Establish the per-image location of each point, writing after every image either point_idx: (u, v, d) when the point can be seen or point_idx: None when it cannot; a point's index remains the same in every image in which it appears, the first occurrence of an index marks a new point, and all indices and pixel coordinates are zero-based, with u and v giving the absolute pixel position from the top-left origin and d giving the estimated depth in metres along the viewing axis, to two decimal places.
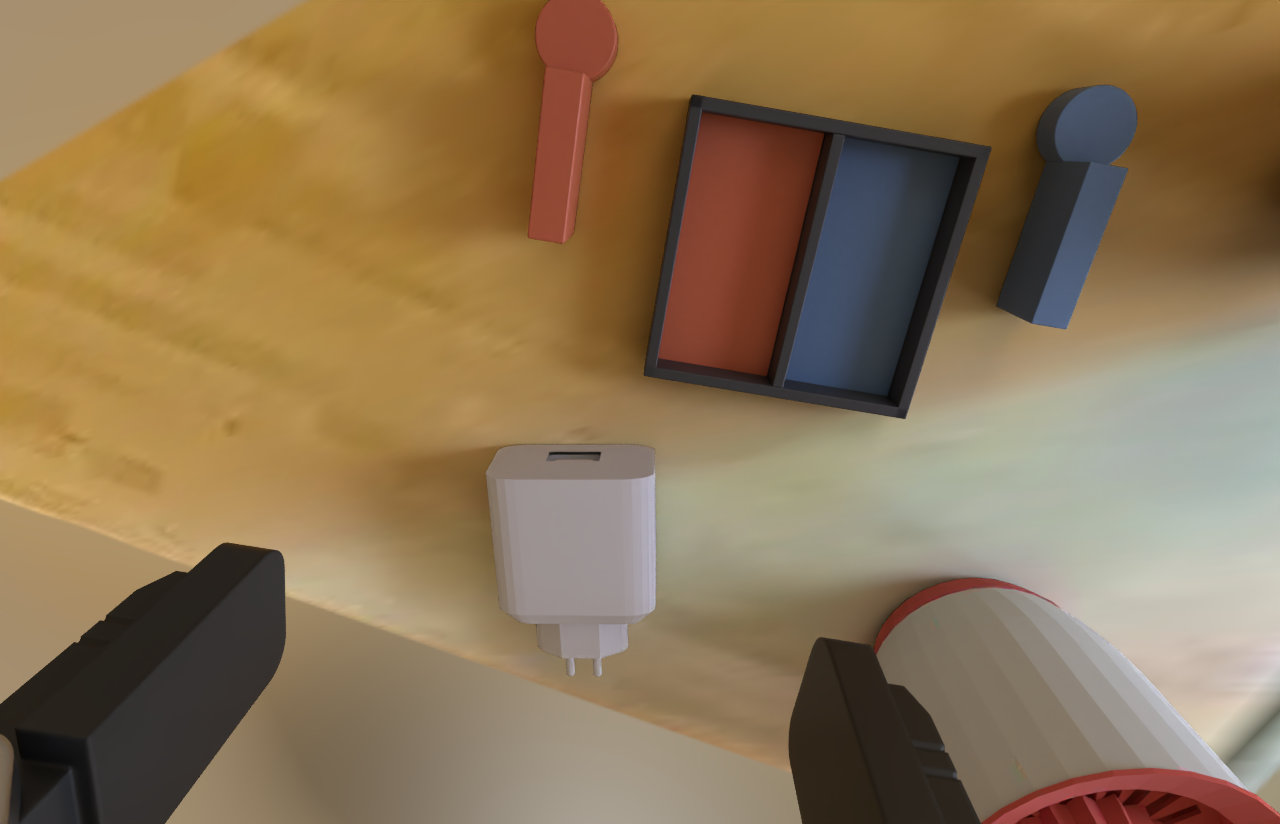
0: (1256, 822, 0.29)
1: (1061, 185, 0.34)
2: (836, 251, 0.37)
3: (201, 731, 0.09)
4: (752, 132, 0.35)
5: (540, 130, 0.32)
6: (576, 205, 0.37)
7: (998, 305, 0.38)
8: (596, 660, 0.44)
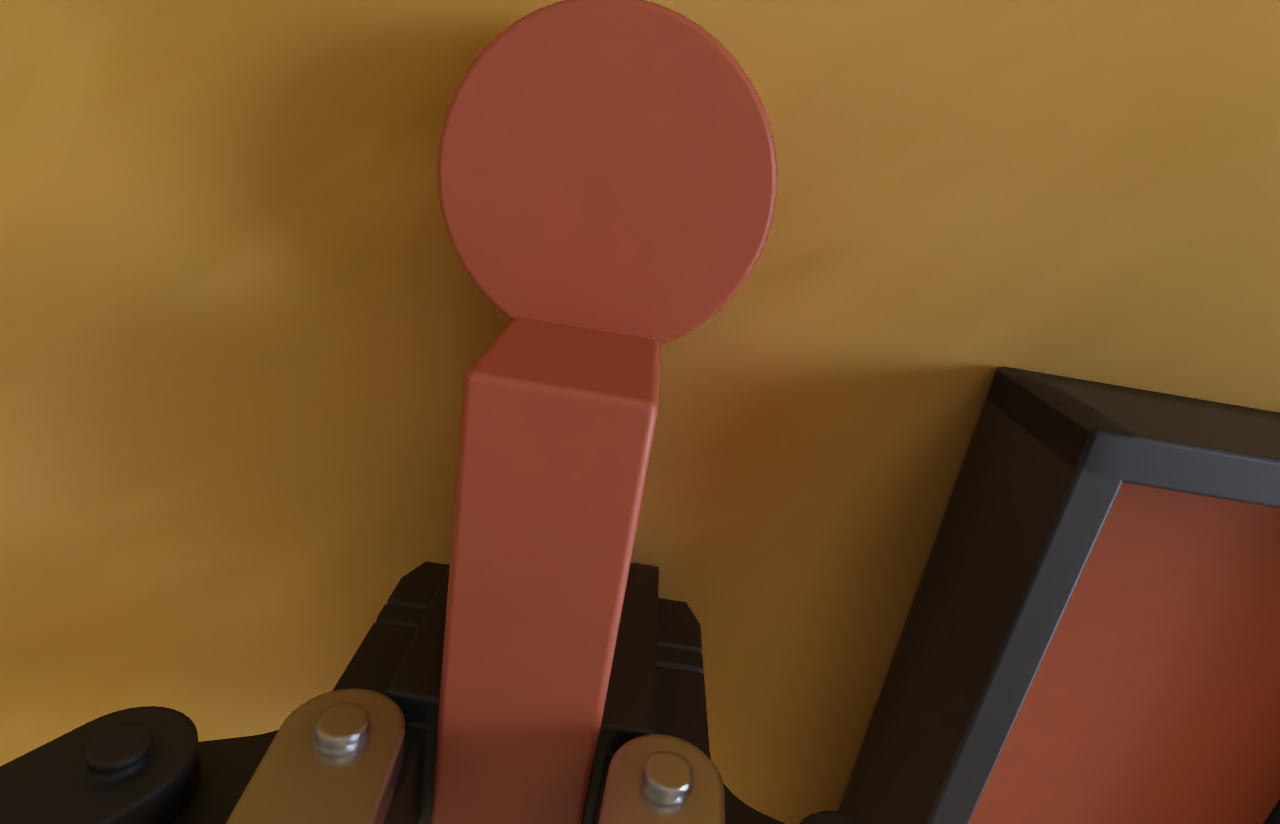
0: None
1: None
2: None
3: None
4: None
5: (453, 619, 0.07)
6: None
7: None
8: None
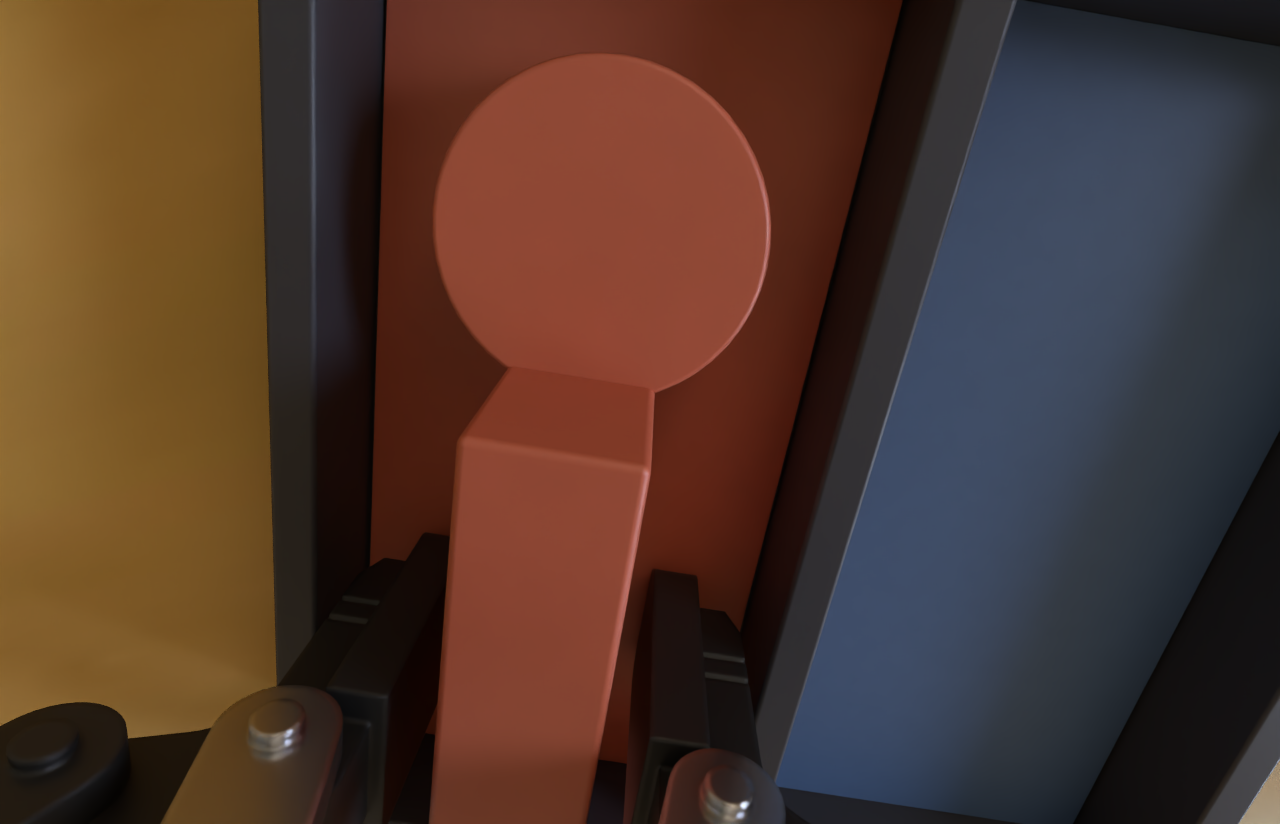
0: None
1: None
2: (935, 428, 0.10)
3: (427, 698, 0.10)
4: None
5: (447, 675, 0.07)
6: None
7: None
8: None
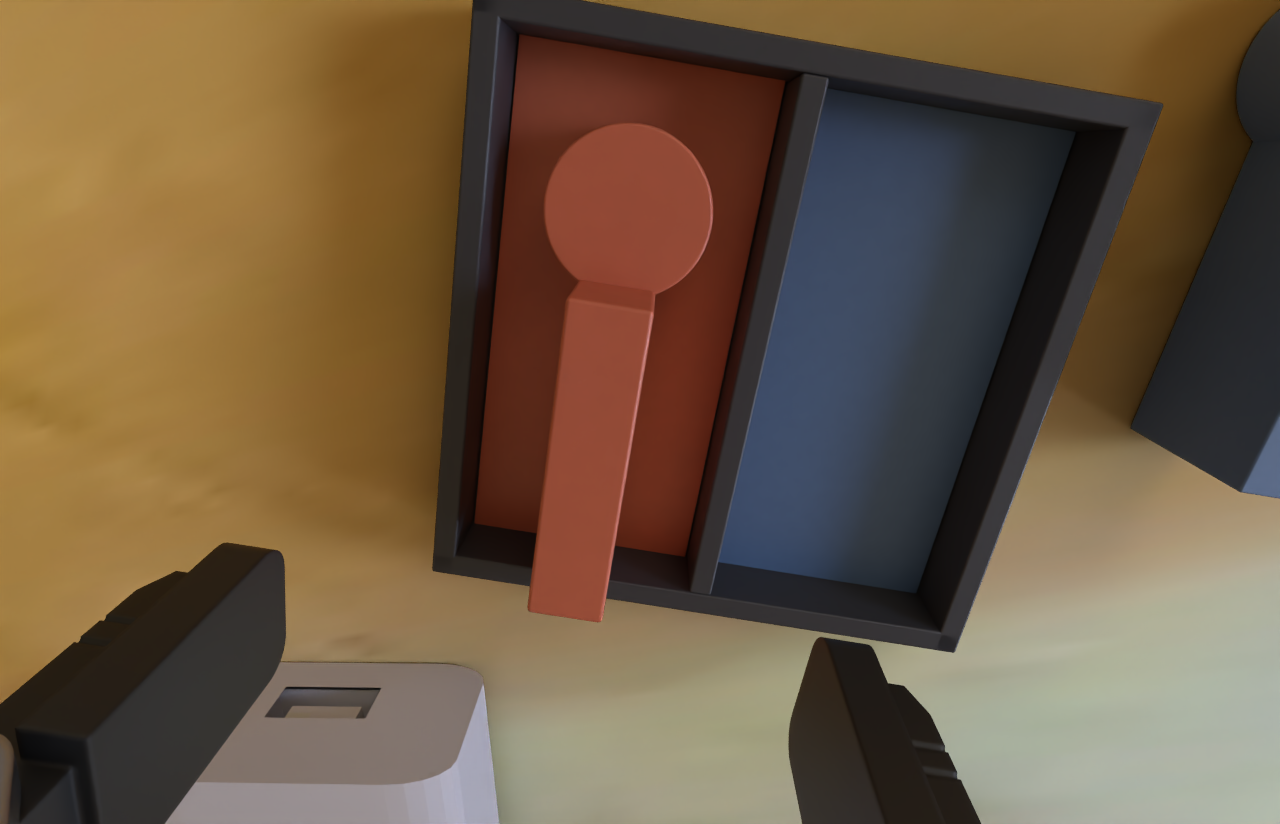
0: None
1: None
2: (815, 325, 0.18)
3: (201, 730, 0.09)
4: (631, 78, 0.16)
5: (555, 422, 0.15)
6: None
7: (1136, 428, 0.19)
8: None
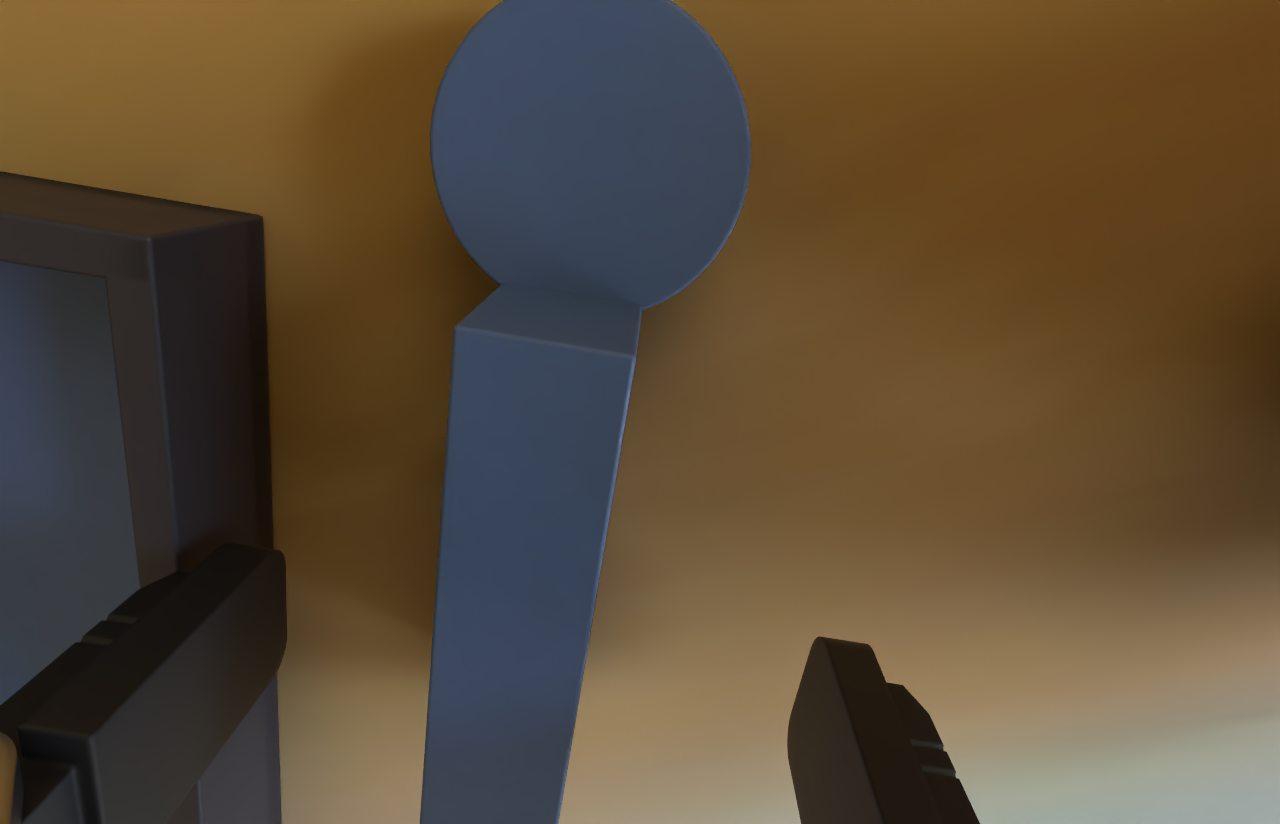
0: None
1: None
2: None
3: (203, 730, 0.09)
4: None
5: None
6: None
7: None
8: None
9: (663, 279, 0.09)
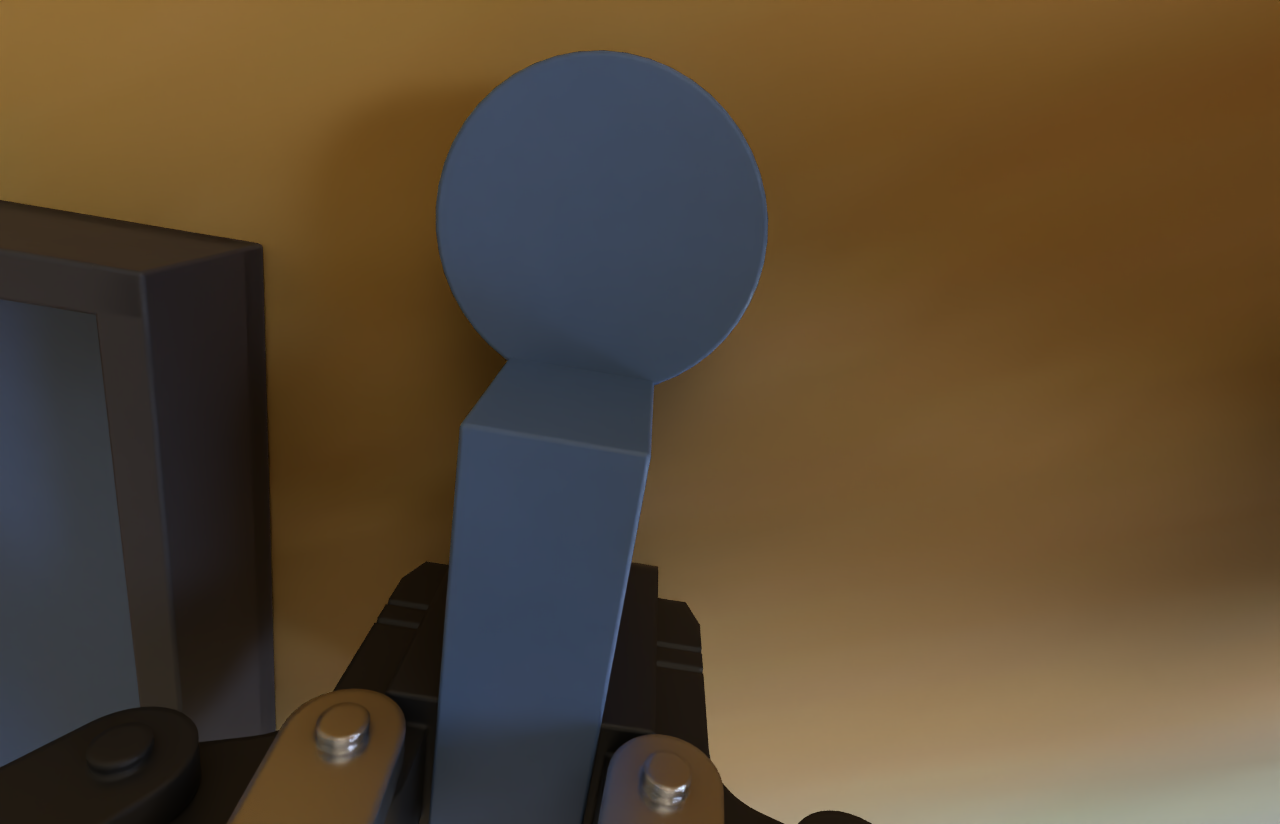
0: None
1: None
2: None
3: None
4: None
5: None
6: None
7: None
8: None
9: (676, 355, 0.09)
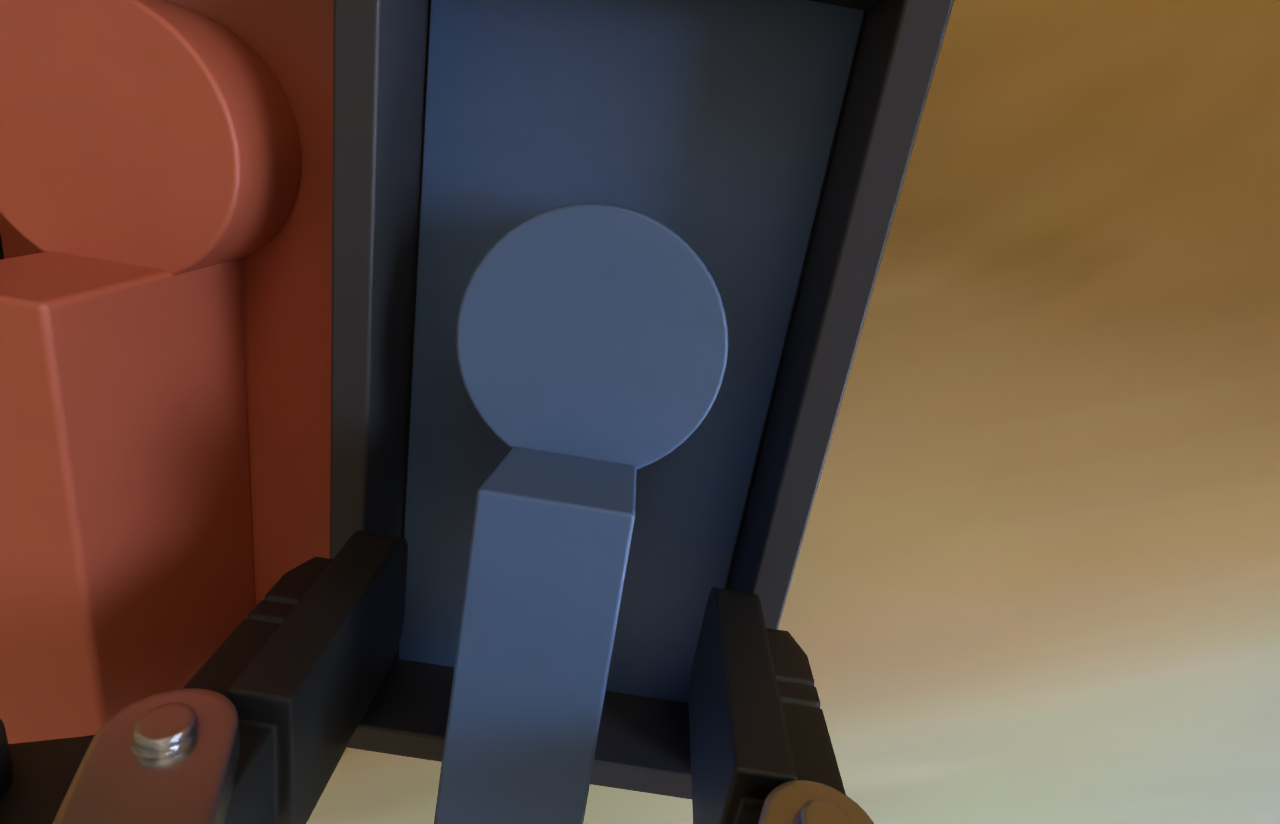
0: None
1: None
2: None
3: (352, 701, 0.10)
4: None
5: None
6: (238, 580, 0.13)
7: None
8: None
9: (655, 443, 0.10)
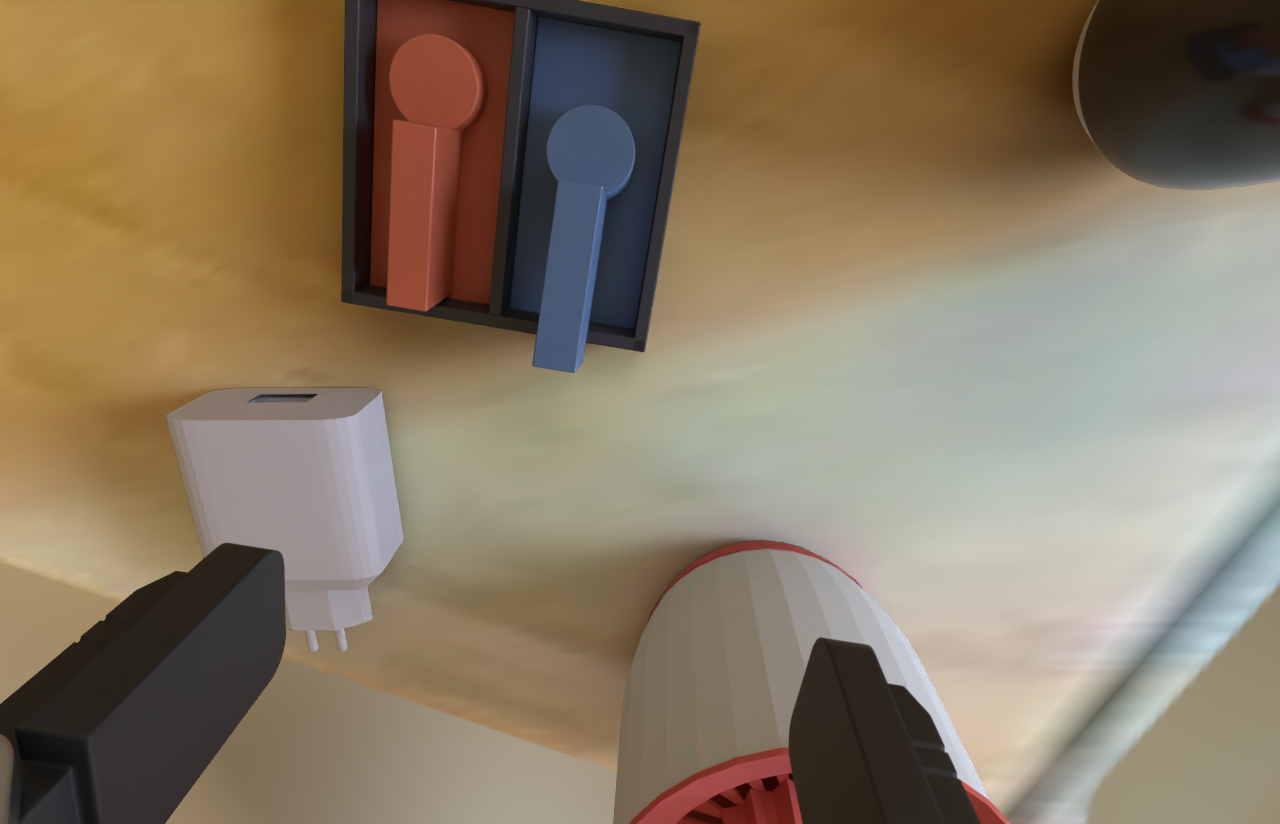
0: None
1: None
2: None
3: (201, 730, 0.09)
4: (439, 12, 0.30)
5: (391, 189, 0.29)
6: (451, 264, 0.33)
7: None
8: (337, 633, 0.40)
9: (611, 185, 0.30)
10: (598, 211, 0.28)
